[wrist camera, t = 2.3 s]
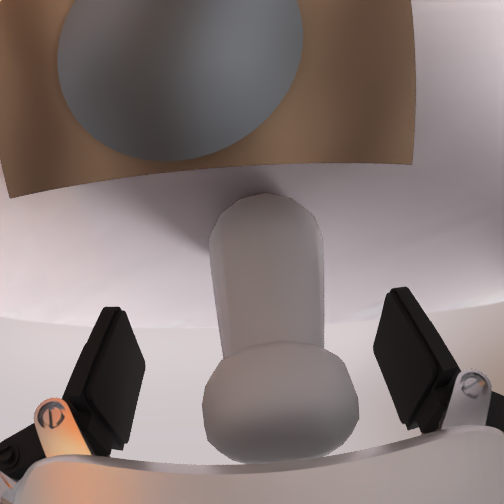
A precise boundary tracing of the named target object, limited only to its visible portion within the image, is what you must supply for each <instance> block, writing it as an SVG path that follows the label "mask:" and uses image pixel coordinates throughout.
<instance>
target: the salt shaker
mask: <svg viewBox="0 0 504 504" xmlns="http://www.w3.org/2000/svg"><path fill="white" fill-rule="evenodd" d="M209 253H210V265H211V273H212V281H213V288H214V296H215V303H216V311H217V318H218V325H219V332H220V339H221V346H222V352H223V360H221V362H220V363H219V364H218V366H217V368H216V369H215V371H214V372H213V374H212V376H211V377H210V379H209V381H208V382H207V384H206V386H205V391H204V396H203V403H202V409H203V418H204V427H205V431H206V435H207V439H208V441H209V442H210V443H211V444H212V445H213V446H214V447H215V448H216V449H217V450H218V451H220V452H221V453H223V454H224V455H225V456H227V457H228V458H230V459H232V460H234V461H237V462H241V463H245V464H263V463H277V462H288V461H297V460H305V459H313V458H320V457H323V456H326V455H328V454H329V453H331V452H332V451H334V450H335V449H337V448H338V447H340V446H341V445H343V444H344V442H345V441H346V440H347V439H348V438H349V436H350V435H351V434H352V432H353V430H354V428H355V426H356V424H357V422H358V420H359V406H358V397H357V394H356V391H355V389H354V386H353V384H352V381H351V378H350V376H349V373H348V371H347V368H346V366H345V364H344V362H343V361H342V360H341V359H340V358H339V357H338V356H337V355H335V354H333V353H331V352H329V351H327V350H325V349H324V262H323V238H322V235H321V233H320V230H319V227H318V225H317V222H316V220H315V217H314V216H313V215H312V214H311V213H310V212H308V211H307V210H306V209H305V208H303V207H302V206H301V205H300V204H298V203H297V202H296V201H294V200H293V199H292V198H288V197H284V196H280V195H275V194H271V193H262V194H257V195H253V196H248V197H244V198H240V199H239V200H238V201H236V202H235V203H234V204H232V205H231V206H230V207H229V208H227V209H226V210H225V211H223V212H222V213H221V214H220V216H219V218H218V220H217V222H216V224H215V226H214V228H213V230H212V233H211V235H210V237H209Z"/></svg>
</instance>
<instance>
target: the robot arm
mask: <svg viewBox="0 0 504 504" xmlns="http://www.w3.org/2000/svg"><path fill="white" fill-rule="evenodd" d="M373 351H374V355H375V357H376V359H377V362H378V364H379V367H380V369H381V372H382V374H383V377H384V379H385V382H386V384H387V387H388V389H389V392H390V395H391V397H392V400H393V402H394V405H395V408H396V410H397V413H398V416H399V418H400V421H401V422H402V423H403V424H406V427H407V430H411V429H415V428H417V427H419V428H420V431H421V432H422V434H421V435H420V436H417V437H413V438H410V439H406V440H402V441H398V442H395V443H390V444H386V445H382V446H378V447H374V448H369V449H365V450H360V451H355V452H350V453H344V454H339V455H333V456H327V457H320V458H313V459H305V460H297V461H288V462H277V463H263V464H244V465H188V464H170V463H155V462H145V461H135V460H126V459H118V458H111V457H110V454H111V449H115V450H123V447H124V443H126V444H127V443H128V441H129V437H130V432H131V428H132V423H133V419H134V414H135V410H136V405H137V401H138V396H139V392H140V388H141V384H142V380H143V376H144V372H145V360H144V358H143V355H142V353H141V350H140V348H139V346H138V343H137V341H136V338H135V335H134V333H133V330H132V328H131V325H130V322H129V320H128V317H127V314H126V312H125V311H122V310H121V308H120V307H104V308H103V309H102V311H101V313H100V316H99V318H98V320H97V322H96V324H95V326H94V328H93V330H92V332H91V335H90V337H89V339H88V341H87V343H86V344H85V346H84V348H83V350H82V352H81V354H80V357H79V359H78V361H77V363H76V366H75V368H74V370H73V373H72V375H71V378H70V380H69V382H68V385H67V387H66V390H65V392H64V395H63V397H62V399H60V398H50V399H47V400H45V401H43V402H42V403H40V405H39V406H38V407H37V409H36V411H35V413H34V423H33V424H31V425H30V426H28V427H26V428H25V429H23V430H21V431H19V432H18V433H16V434H14V435H12V436H11V437H9V438H7V439H5V440H4V441H2V442H1V443H0V504H504V396H503V395H500V394H498V393H495V392H493V391H492V388H491V387H492V386H491V382H490V380H489V379H488V377H487V376H486V375H485V374H484V373H483V372H481V371H479V370H476V369H466V370H463V371H461V370H460V368H459V367H458V365H457V363H456V361H455V360H454V358H453V356H452V355H451V353H450V351H449V350H448V348H447V346H446V345H445V343H444V342H443V340H442V338H441V337H440V335H439V333H438V332H437V330H436V329H435V327H434V325H433V324H432V322H431V321H430V320H429V318H428V317H427V315H426V314H425V312H424V311H423V309H422V308H421V306H420V305H419V303H418V302H417V300H416V299H415V297H414V296H413V294H412V293H411V291H410V290H409V289H408V288H407V287H399V288H393V289H391V291H390V293H387V294H386V298H385V302H384V306H383V310H382V314H381V318H380V322H379V326H378V330H377V334H376V337H375V341H374V345H373Z"/></svg>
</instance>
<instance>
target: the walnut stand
mask: <svg viewBox="0 0 504 504" xmlns="http://www.w3.org/2000/svg"><path fill="white" fill-rule="evenodd" d="M415 104H416V69H415V43H414V28H413V16H412V7H411V0H2V1H0V159H1V164H2V169H3V173H4V177H5V182H6V186H7V190H8V193H9V197H10V198H15V197H19V196H24V195H28V194H33V193H38V192H43V191H48V190H53V189H58V188H63V187H69V186H74V185H80V184H86V183H92V182H98V181H105V180H111V179H118V178H125V177H133V176H140V175H148V174H157V173H165V172H175V171H185V170H195V169H206V168H219V167H233V166H249V165H268V164H296V163H381V164H407V165H412V160H413V147H414V131H415Z"/></svg>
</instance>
